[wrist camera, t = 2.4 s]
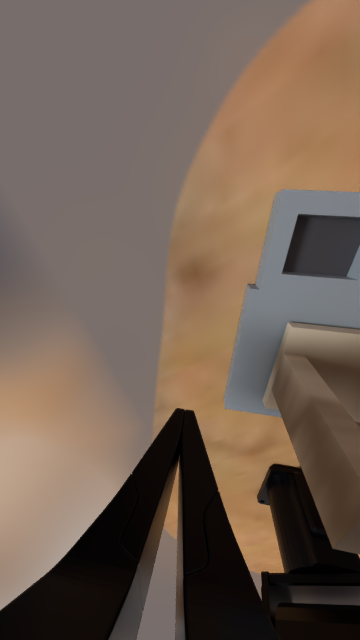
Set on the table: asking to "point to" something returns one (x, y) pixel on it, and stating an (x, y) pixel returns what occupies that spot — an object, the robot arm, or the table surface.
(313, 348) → the tan blocky structure
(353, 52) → the table surface
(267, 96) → the table surface
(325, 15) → the table surface
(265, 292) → the crate on grey tray
